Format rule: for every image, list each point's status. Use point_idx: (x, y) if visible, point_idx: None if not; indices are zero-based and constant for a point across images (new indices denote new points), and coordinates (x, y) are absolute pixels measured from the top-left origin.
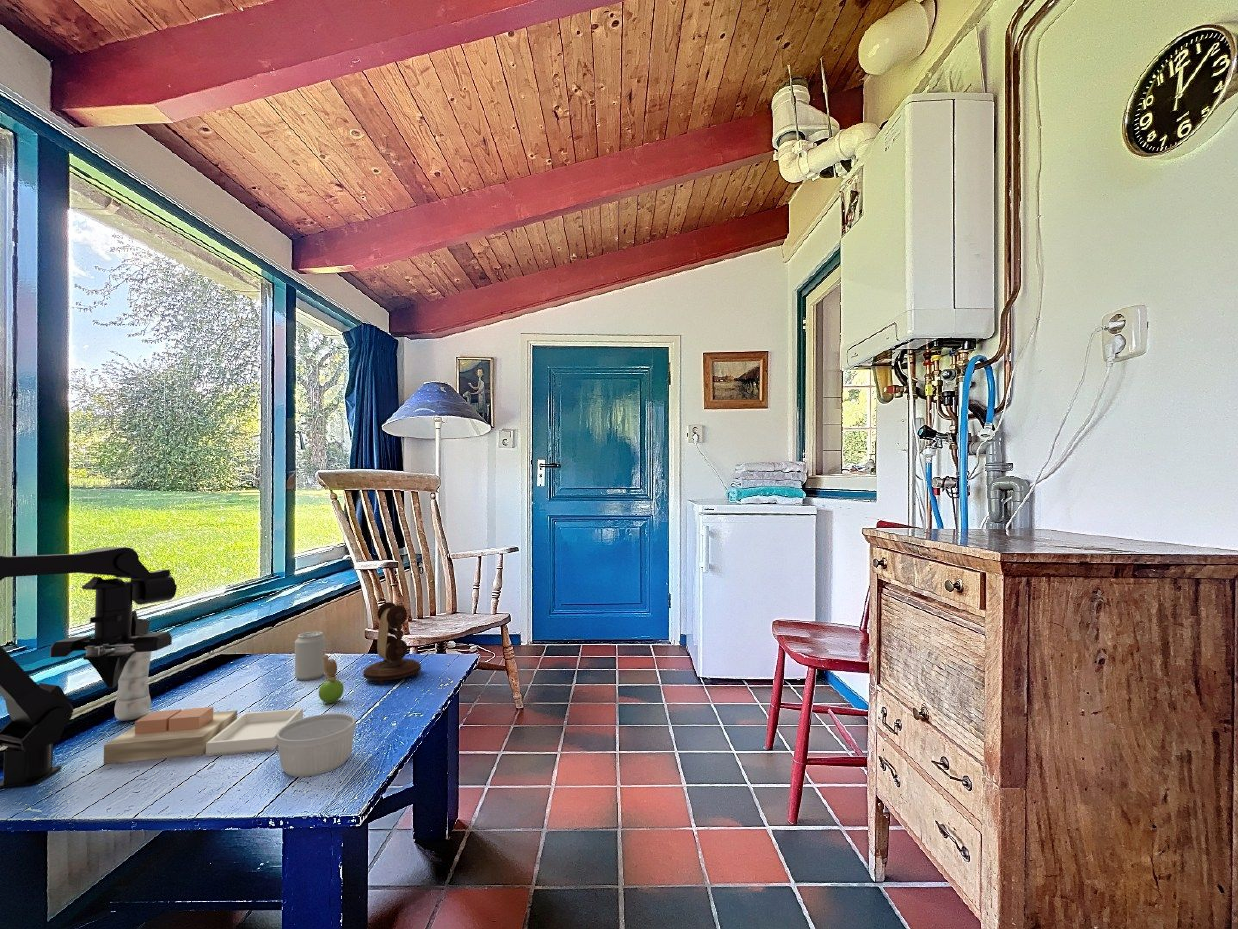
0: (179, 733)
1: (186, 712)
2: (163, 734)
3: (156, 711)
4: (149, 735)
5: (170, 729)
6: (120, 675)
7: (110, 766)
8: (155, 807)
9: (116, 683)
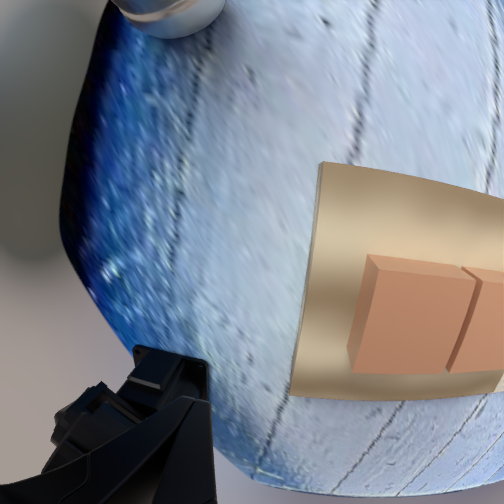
0: None
1: (489, 324)
2: None
3: (396, 275)
4: None
5: None
6: (213, 455)
7: None
8: (415, 485)
9: (211, 419)
